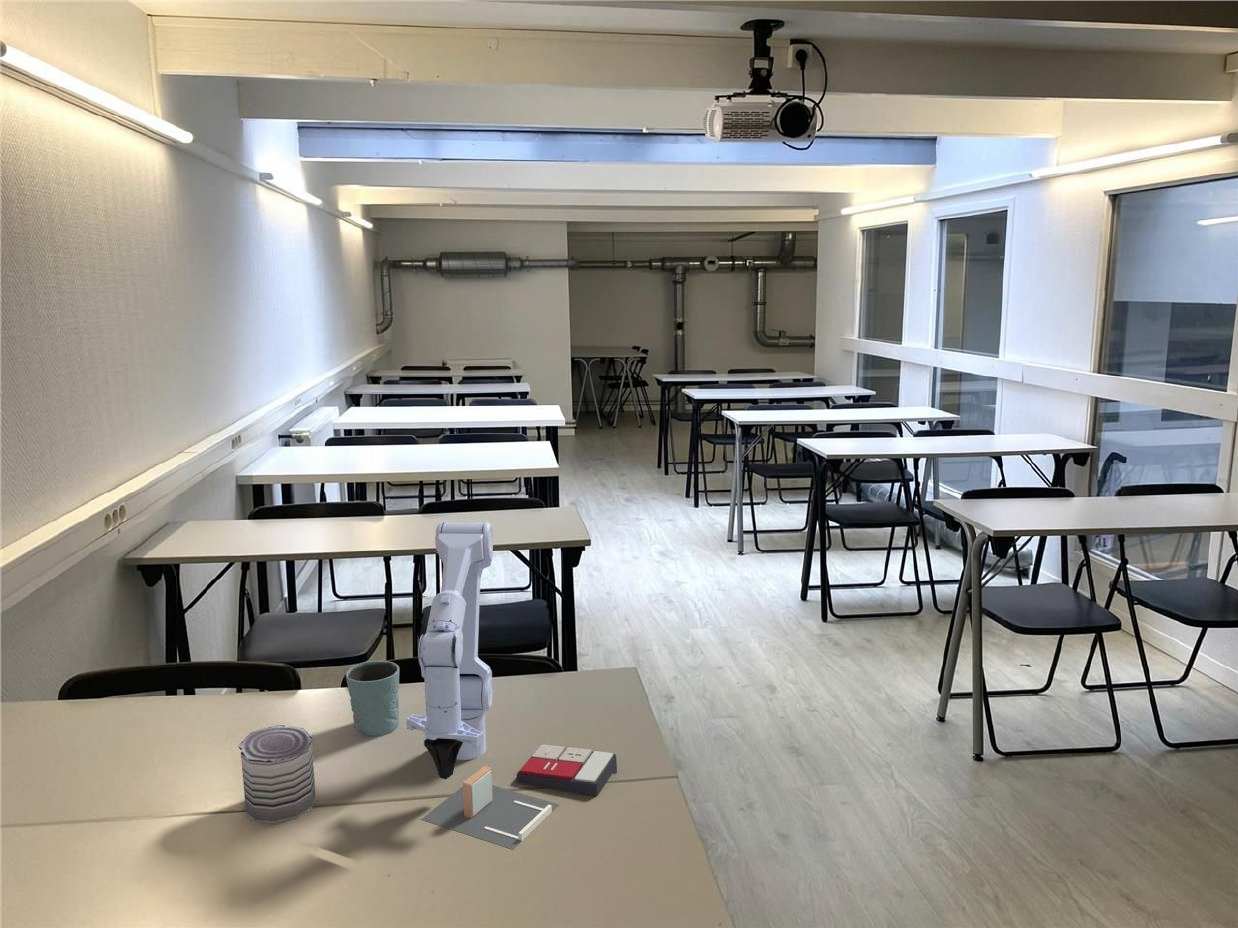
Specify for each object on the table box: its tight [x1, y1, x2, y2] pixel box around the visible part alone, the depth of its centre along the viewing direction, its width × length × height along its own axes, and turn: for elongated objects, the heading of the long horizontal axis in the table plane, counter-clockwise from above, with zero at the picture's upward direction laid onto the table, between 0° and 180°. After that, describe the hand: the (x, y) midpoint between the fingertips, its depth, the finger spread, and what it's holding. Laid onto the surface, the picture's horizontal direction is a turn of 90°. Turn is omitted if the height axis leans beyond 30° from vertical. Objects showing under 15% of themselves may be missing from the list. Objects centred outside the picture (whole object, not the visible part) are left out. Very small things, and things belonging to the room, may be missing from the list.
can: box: [237, 724, 317, 825], centre depth 157 cm, size 11×11×12 cm
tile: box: [462, 765, 493, 818], centre depth 154 cm, size 2×6×6 cm, turn 153°
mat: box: [420, 784, 560, 850], centre depth 154 cm, size 18×14×2 cm
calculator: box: [516, 744, 618, 798], centre depth 166 cm, size 11×4×15 cm
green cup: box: [345, 660, 400, 738], centre depth 185 cm, size 10×10×12 cm
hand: (446, 775), depth 157 cm, fingers closed
